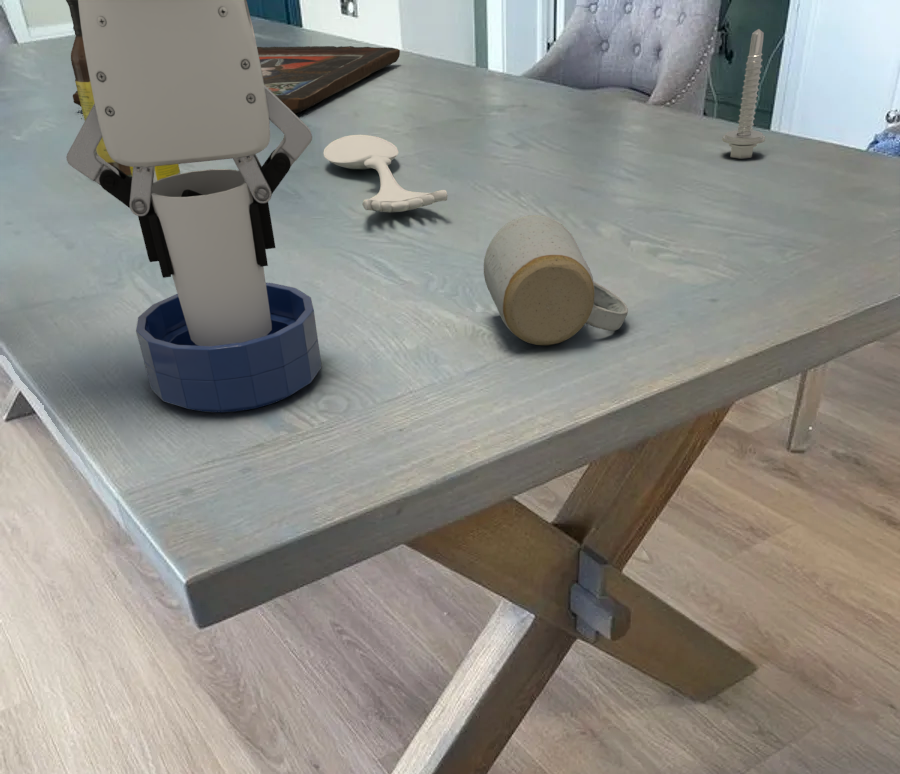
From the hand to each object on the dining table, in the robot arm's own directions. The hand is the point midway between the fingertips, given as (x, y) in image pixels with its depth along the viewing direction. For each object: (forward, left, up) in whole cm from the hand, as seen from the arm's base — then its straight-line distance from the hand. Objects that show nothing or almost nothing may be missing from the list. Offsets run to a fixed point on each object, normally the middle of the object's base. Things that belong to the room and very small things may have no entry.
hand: (215, 262), depth 63 cm
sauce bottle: (-55, +37, -9) cm, 67 cm away
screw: (+11, +74, -9) cm, 75 cm away
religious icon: (-80, +86, -9) cm, 118 cm away
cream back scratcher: (-21, +45, -9) cm, 50 cm away
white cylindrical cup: (0, 0, -5) cm, 5 cm away
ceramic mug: (+16, +19, -9) cm, 26 cm away
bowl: (0, 0, -9) cm, 9 cm away
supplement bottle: (-43, +32, -9) cm, 54 cm away
